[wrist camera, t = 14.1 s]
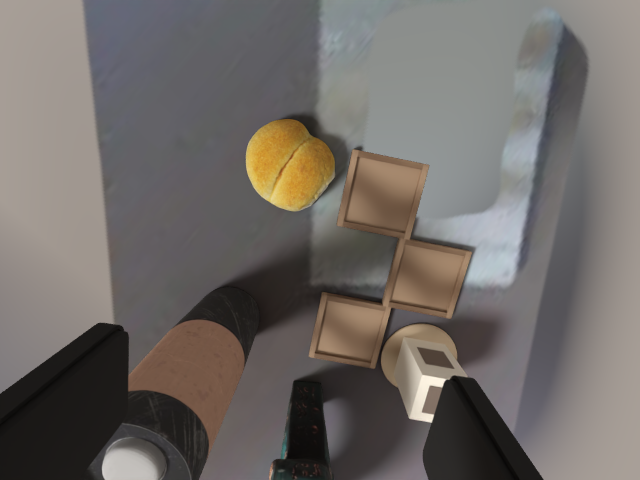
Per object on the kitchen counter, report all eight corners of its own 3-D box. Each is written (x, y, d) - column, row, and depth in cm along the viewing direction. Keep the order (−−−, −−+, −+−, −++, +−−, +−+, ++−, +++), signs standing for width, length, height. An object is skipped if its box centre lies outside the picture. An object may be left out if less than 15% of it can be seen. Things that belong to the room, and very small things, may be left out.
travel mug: (231, 271, 36) (121, 394, 16) (276, 319, 37) (224, 487, 17) (183, 311, 37) (26, 471, 17) (228, 356, 38) (129, 553, 18)
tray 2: (398, 236, 35) (400, 238, 34) (468, 250, 35) (472, 252, 34) (381, 302, 36) (382, 305, 36) (448, 315, 37) (451, 318, 36)
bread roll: (279, 105, 32) (273, 96, 28) (346, 162, 33) (349, 161, 29) (232, 170, 33) (220, 170, 30) (298, 222, 35) (295, 229, 31)
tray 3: (322, 291, 36) (322, 294, 35) (389, 304, 36) (391, 307, 36) (309, 352, 38) (308, 356, 37) (373, 364, 38) (374, 368, 37)
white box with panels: (403, 336, 37) (422, 374, 30) (445, 343, 37) (473, 383, 30) (393, 373, 38) (409, 419, 31) (433, 380, 38) (458, 427, 31)
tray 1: (352, 149, 33) (353, 149, 32) (427, 165, 33) (429, 165, 32) (336, 224, 34) (336, 225, 34) (407, 238, 35) (409, 239, 34)
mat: (390, 317, 37) (391, 318, 36) (465, 331, 37) (466, 332, 37) (373, 383, 39) (373, 385, 38) (443, 395, 39) (445, 398, 39)
